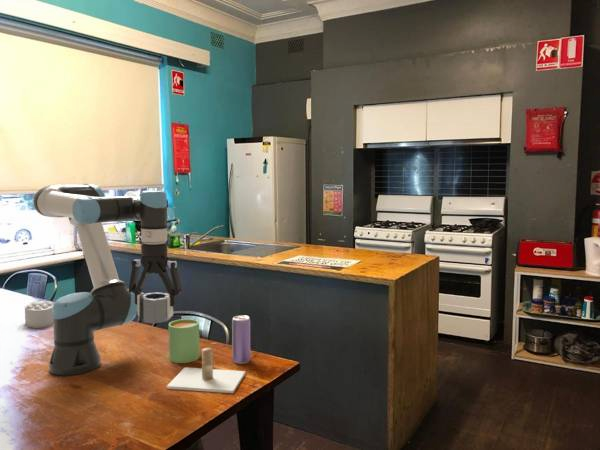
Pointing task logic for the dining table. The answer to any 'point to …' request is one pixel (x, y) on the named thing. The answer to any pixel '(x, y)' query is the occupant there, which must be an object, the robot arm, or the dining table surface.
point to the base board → (220, 383)
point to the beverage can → (241, 339)
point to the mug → (184, 340)
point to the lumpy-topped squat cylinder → (39, 314)
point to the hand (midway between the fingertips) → (155, 315)
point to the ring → (153, 307)
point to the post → (207, 364)
